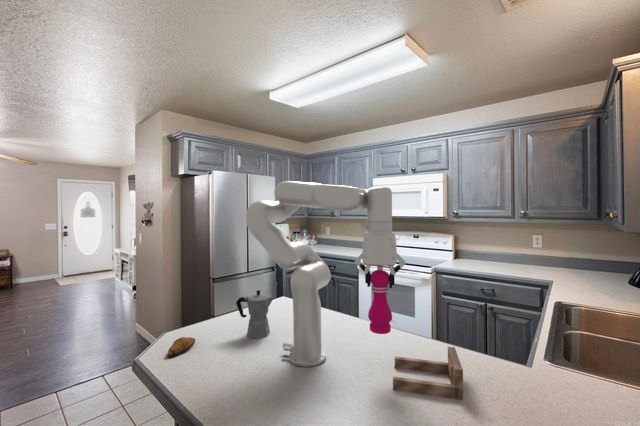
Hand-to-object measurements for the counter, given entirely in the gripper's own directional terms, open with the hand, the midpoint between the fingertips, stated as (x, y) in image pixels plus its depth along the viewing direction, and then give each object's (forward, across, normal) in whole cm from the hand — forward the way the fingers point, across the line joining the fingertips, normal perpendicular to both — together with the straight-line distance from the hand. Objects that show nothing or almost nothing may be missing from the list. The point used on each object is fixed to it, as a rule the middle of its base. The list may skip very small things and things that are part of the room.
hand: (379, 285), depth 93 cm
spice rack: (+27, +13, 0) cm, 30 cm away
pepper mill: (+14, 0, 0) cm, 14 cm away
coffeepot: (+27, -52, +19) cm, 62 cm away
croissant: (+28, -71, -1) cm, 76 cm away
